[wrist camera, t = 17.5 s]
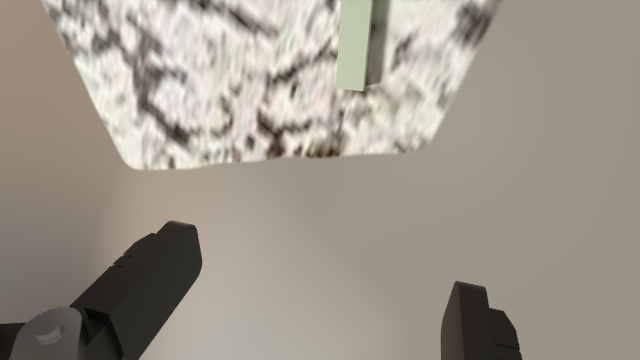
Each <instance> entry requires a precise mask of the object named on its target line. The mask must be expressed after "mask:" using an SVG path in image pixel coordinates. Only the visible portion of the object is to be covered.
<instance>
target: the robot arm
mask: <svg viewBox="0 0 640 360" xmlns="http://www.w3.org/2000/svg"><path fill="white" fill-rule="evenodd" d="M201 267H202V256H201V250H200V245H199V239H198V233H197V229H196V227H195V226H194V225H191V224H186V223H182V222H177V221H169V222H167V223H166V224H165V225H164V226H163V227H162V228H161V229H160V230H159V231H158V232H157V233H156V234H154V233H151V234H149V235H147V236H145V237H144V238H142V239H140V240H138V241H137V242H135V243H134V244H133V245H132V246H131V247H130V248H129V249H128V250H127V251H126V252H125V253H124V254H123V256H122V257H120V258H119V259H118V260H117V261H115V262H114V263H113V266H112V267H111V266H110V267H109V268H108V269H107V270H106V271H105V272H104V273H103V274H102V275H101V276H100V277H99V278H98V279H97V280H96V281H95V282H94V283H93V284H92V285H91V286H90V287H89V288H88V289H87V290H86V291H85V292H84V293H83V294H82V295H80V296H79V298H77V299H76V300H75V301H74V302H73V303H72V304H71V305H70V306H69V307H58V308H54V309H50V310H47V311H45V312H43V313H41V314H39V315H37V316H35V317H34V318H32V319H31V320H30V321H29V322H27V323H11V324H0V360H139V358H140V357H141V355H142V354H143V352H144V351H145V350H146V348H147V347H148V346H149V344H150V343H151V341H152V340H153V339H154V337H155V336H156V335H157V333H158V332H159V331H160V329H161V328H162V326H163V325H164V323H165V322H166V321H167V319H168V318H169V317H170V315H171V314H172V312H173V311H174V310H175V308H176V307H177V306H178V304H179V303H180V301H181V300H182V299H183V297H184V296H185V294H186V293H187V292H188V290H189V289H190V288H191V286H192V285H193V283H194V282H195V281H196V279H197V277H198V276H199V274H200V271H201ZM519 350H520V348H519V343H518V338H517V334H516V329H515V328H514V326H513V325H512V323H511V322H510V320H509V319H508V317H507V316H506V314H505V313H504V311H501V310H496V309H492V308H489V304H488V298H487V292H486V289H485V287H483V286H478V285H473V284H468V283H464V282H459V281H456V282H455V284H454V286H453V289H452V292H451V295H450V298H449V301H448V304H447V307H446V310H445V314H444V317H443V321H442V327H441V360H522V356H521V353H520V352H519Z"/></svg>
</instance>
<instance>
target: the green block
mask: <svg viewBox="0 0 640 360" xmlns="http://www.w3.org/2000/svg"><path fill="white" fill-rule="evenodd" d="M373 5H374V0H341V11H340V28H339V45H338V62H337V79H336V88H341V89H349V90H358V91H363V90H364V88H365V84H366V74H367V64H368V54H369V44H370V34H371V25H372V15H373Z"/></svg>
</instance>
